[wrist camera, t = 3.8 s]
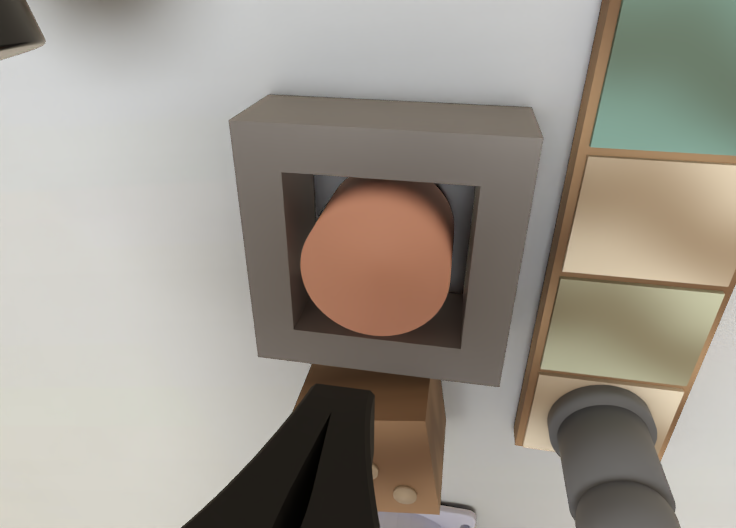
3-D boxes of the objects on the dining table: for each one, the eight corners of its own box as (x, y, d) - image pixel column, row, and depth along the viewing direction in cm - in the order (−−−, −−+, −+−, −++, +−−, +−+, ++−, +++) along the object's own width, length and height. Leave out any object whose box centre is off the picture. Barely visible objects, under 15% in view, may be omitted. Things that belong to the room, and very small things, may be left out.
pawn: (636, 461, 22) (688, 623, 17) (539, 448, 23) (559, 599, 18) (664, 391, 20) (733, 549, 15) (556, 378, 21) (585, 525, 16)
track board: (652, 446, 23) (660, 469, 22) (513, 428, 24) (515, 448, 23) (836, -10, 14) (863, -7, 13) (604, -13, 15) (614, -11, 14)
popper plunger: (448, 287, 20) (443, 343, 17) (328, 275, 21) (304, 327, 18) (460, 170, 18) (457, 212, 15) (324, 161, 19) (295, 199, 16)
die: (445, 419, 25) (439, 518, 20) (343, 417, 26) (316, 511, 21) (434, 333, 22) (425, 424, 18) (323, 336, 24) (288, 423, 19)
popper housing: (495, 328, 22) (499, 387, 19) (286, 305, 23) (258, 357, 20) (531, 107, 17) (543, 138, 14) (268, 94, 19) (228, 120, 16)
